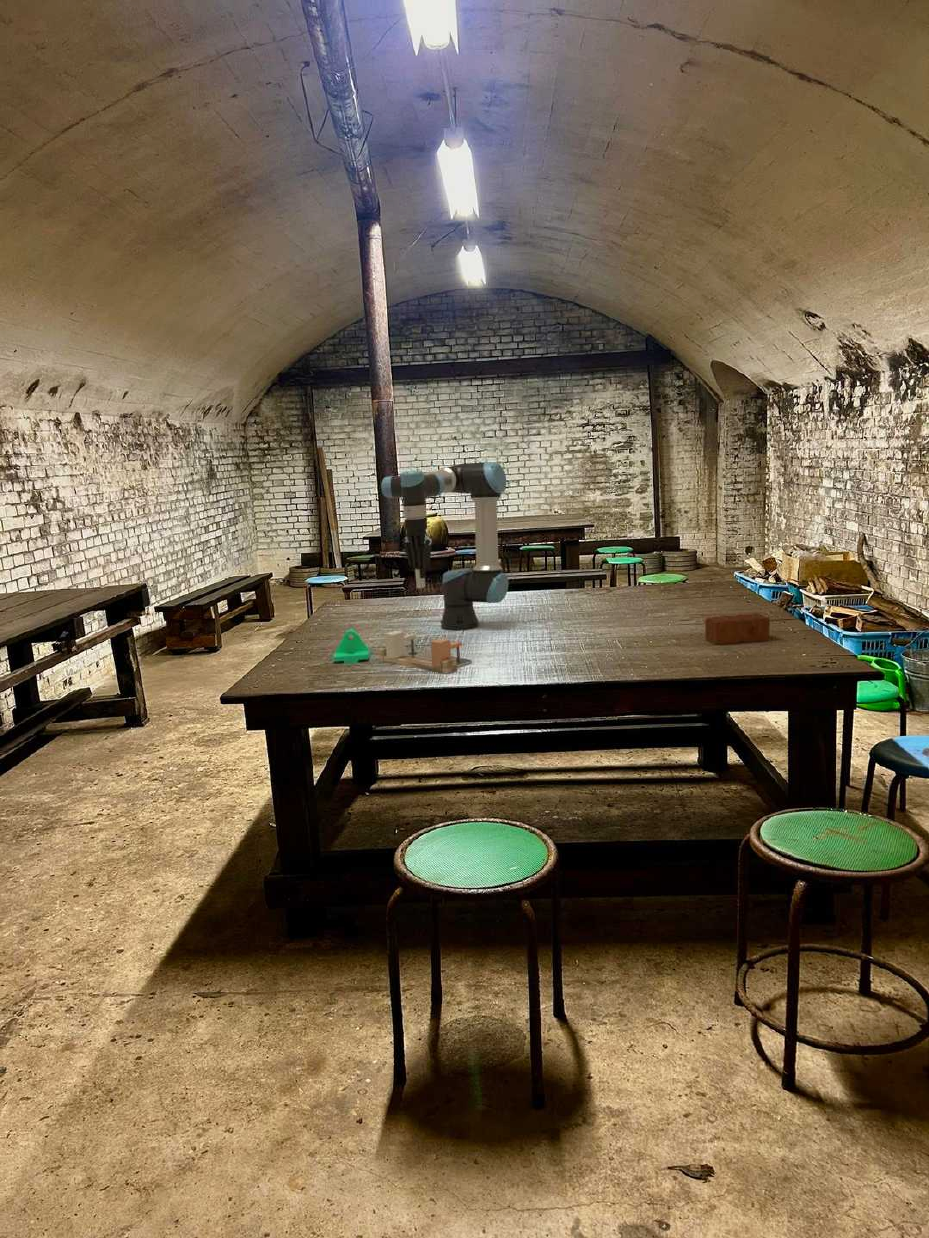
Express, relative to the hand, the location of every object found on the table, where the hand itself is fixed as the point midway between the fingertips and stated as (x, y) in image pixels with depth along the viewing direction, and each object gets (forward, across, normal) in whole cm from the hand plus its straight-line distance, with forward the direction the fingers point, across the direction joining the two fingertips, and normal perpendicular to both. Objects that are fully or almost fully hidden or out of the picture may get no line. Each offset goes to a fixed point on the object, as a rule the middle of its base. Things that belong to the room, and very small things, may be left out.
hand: (421, 587), depth 262 cm
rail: (+24, +5, -10) cm, 27 cm away
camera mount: (+25, -20, -17) cm, 36 cm away
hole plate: (+24, +6, -2) cm, 25 cm away
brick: (+27, +81, +71) cm, 111 cm away
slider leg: (+23, +17, -7) cm, 29 cm away
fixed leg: (+23, -5, -7) cm, 24 cm away
